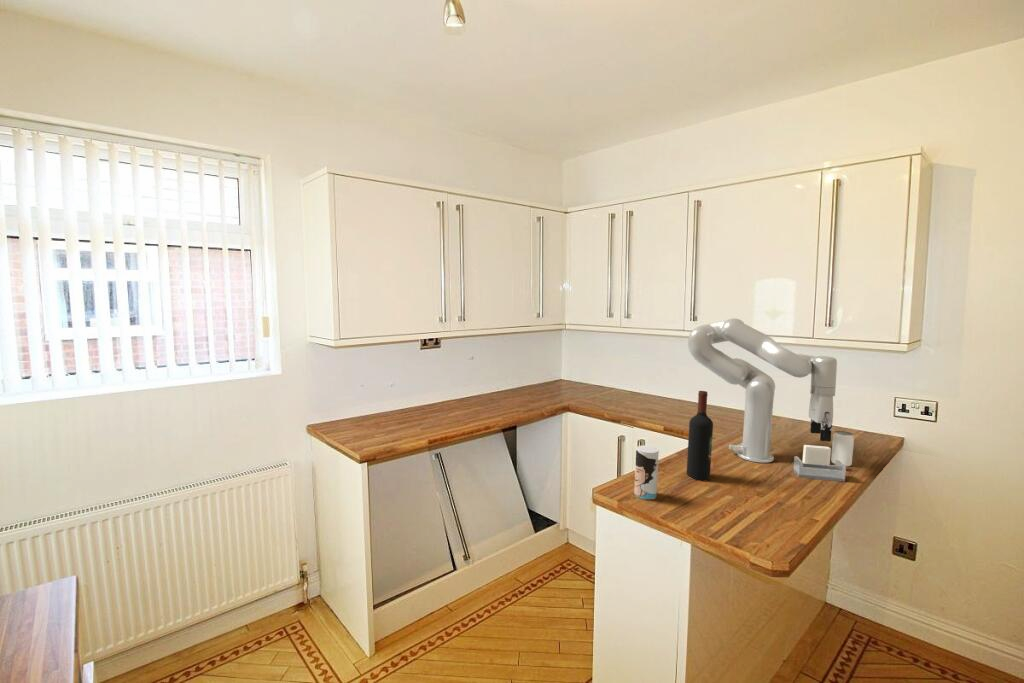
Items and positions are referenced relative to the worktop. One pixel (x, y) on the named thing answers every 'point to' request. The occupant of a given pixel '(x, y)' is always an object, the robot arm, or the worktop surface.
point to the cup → (646, 472)
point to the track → (820, 470)
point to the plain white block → (816, 454)
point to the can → (842, 447)
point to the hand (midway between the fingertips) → (820, 436)
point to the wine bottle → (700, 442)
